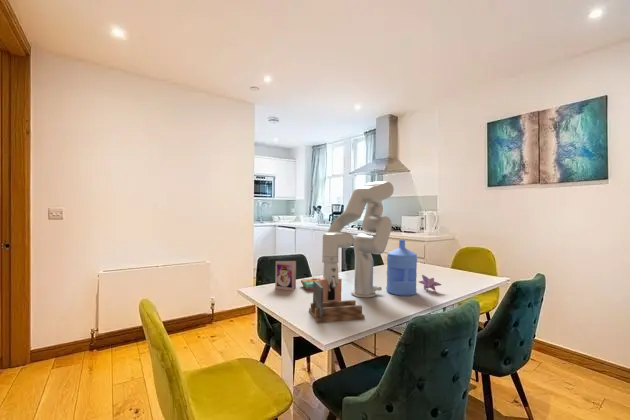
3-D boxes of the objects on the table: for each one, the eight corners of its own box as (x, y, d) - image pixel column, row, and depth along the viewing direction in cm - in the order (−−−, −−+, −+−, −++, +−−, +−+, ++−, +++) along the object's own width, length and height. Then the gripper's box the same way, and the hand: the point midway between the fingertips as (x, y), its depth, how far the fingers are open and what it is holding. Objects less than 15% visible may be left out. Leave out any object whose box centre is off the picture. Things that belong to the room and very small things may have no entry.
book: (338, 301, 150) (338, 276, 150) (341, 304, 146) (341, 278, 146) (318, 303, 147) (318, 277, 147) (320, 305, 143) (321, 279, 143)
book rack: (351, 308, 141) (352, 278, 141) (364, 319, 127) (365, 286, 127) (308, 311, 136) (309, 280, 136) (317, 323, 122) (317, 288, 122)
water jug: (382, 288, 176) (383, 238, 175) (409, 288, 177) (410, 238, 176) (391, 296, 160) (392, 242, 160) (421, 296, 161) (422, 242, 161)
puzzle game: (300, 278, 178) (333, 276, 185) (300, 286, 178) (333, 284, 185) (307, 283, 167) (341, 280, 174) (307, 292, 167) (341, 289, 174)
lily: (443, 295, 166) (444, 279, 170) (430, 289, 162) (430, 273, 166) (426, 297, 175) (427, 281, 179) (413, 291, 171) (414, 275, 175)
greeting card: (274, 288, 171) (274, 261, 171) (280, 285, 178) (281, 259, 178) (293, 291, 167) (293, 263, 167) (299, 287, 174) (299, 261, 174)
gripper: (344, 262, 139) (343, 303, 139) (332, 256, 155) (331, 292, 156) (328, 262, 137) (327, 304, 137) (317, 256, 153) (317, 293, 154)
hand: (329, 297), depth 147 cm, fingers closed on book, 4 cm apart
